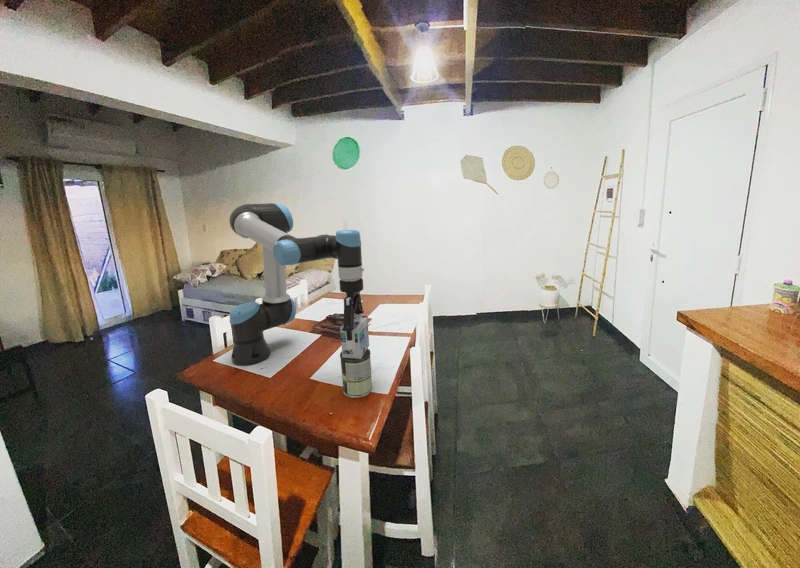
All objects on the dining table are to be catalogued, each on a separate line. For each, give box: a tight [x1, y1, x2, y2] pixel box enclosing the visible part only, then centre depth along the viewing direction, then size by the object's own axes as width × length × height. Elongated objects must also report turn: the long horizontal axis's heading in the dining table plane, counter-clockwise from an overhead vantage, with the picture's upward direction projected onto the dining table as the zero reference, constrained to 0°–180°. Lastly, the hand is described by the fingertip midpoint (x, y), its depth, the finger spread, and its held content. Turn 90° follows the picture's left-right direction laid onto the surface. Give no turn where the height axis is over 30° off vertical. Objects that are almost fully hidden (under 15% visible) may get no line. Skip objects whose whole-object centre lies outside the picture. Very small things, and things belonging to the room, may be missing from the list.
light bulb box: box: [339, 317, 370, 359], centre depth 106 cm, size 11×7×11 cm, turn 170°
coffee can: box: [339, 347, 373, 399], centre depth 108 cm, size 10×10×14 cm
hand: (355, 339), depth 106 cm, fingers open, 13 cm apart
